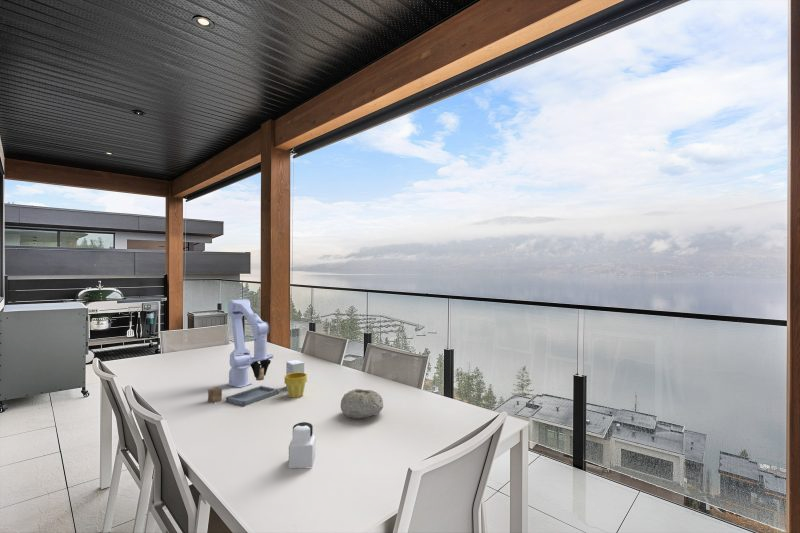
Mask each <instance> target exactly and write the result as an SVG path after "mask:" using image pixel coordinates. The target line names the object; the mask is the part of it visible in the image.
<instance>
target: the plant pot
mask: <svg viewBox="0 0 800 533" xmlns="http://www.w3.org/2000/svg"><path fill="white" fill-rule="evenodd" d="M307 380H308V375H307V373H306V372H304V373H300V372H298V373H290V374H287V375H286V374H285V375H284V384H285V387H286V386H287V387H286V391H287V395H288V397H289V398H293V399H296V398H301V397H303V396H304V391H305V387H306V382H308V381H307Z"/></svg>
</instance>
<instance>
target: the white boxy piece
mask: <svg viewBox="0 0 800 533" xmlns="http://www.w3.org/2000/svg"><path fill="white" fill-rule="evenodd" d="M313 427H314V426H313V424H311V423H310V422H307V421H306V422H305V421H302V422H298V423H296V424H293V427H292V437H291V440H290V442H289V445H288V469H289V468H298V469H307V468H306V467H312V468H313V466H314V462H315V459H316V435H314V434H313V431H314V430H313V429H314V428H313Z"/></svg>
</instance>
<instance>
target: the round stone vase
mask: <svg viewBox="0 0 800 533" xmlns="http://www.w3.org/2000/svg"><path fill="white" fill-rule="evenodd" d="M383 408H384V399H383V397H382V396H381V394H379V393H378V392H376V391H374V390H372V389H360V388H355V389H352V390H350V391H348V392H346V393H344V395H343V396H342V398H341V401H340V410H341V412H342V414H343V415H345V416H347V417H350V418H354V419H362V418H363V419H365V418H367V417H371V416H375V415H377V414H379V413H380V412H381V411H383Z"/></svg>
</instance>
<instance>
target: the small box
mask: <svg viewBox="0 0 800 533" xmlns="http://www.w3.org/2000/svg"><path fill="white" fill-rule="evenodd" d="M285 371H286V372H285V375H287V374H290V373H298V372H300V373H305V362H304V361H301V360H299V359H294V360H293V359H292V360H286V370H285ZM285 387H286V388H287V386H286V385H285Z"/></svg>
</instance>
